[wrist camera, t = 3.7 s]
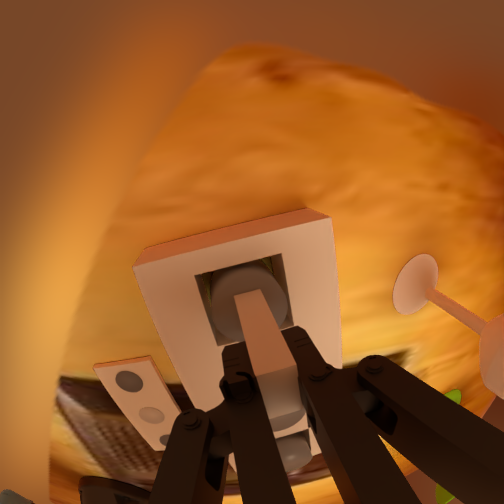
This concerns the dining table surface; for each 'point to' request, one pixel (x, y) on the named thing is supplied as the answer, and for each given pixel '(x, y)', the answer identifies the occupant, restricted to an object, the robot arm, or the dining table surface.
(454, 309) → the champagne flute
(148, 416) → the pattern card
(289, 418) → the middle button
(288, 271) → the button board
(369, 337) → the dining table surface
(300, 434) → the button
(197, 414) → the robot arm
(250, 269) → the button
